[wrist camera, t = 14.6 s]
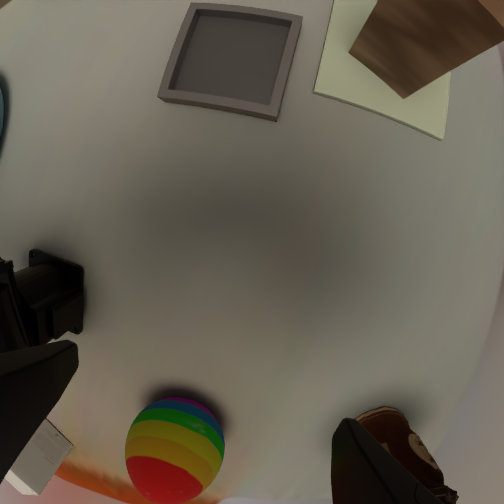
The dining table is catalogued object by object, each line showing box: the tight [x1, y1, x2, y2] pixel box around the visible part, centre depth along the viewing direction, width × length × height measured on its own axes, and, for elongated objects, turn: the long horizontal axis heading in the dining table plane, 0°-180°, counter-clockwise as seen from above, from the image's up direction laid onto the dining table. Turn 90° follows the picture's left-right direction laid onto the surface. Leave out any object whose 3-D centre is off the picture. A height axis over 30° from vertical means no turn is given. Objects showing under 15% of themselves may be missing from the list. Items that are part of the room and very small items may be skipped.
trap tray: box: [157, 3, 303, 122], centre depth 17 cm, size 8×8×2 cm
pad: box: [313, 0, 451, 141], centre depth 16 cm, size 10×10×1 cm
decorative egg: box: [125, 397, 225, 504], centre depth 20 cm, size 8×8×10 cm
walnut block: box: [348, 0, 504, 99], centre depth 10 cm, size 5×5×12 cm
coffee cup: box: [356, 407, 459, 504], centre depth 17 cm, size 9×8×13 cm
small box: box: [4, 419, 73, 495], centre depth 23 cm, size 8×6×10 cm
